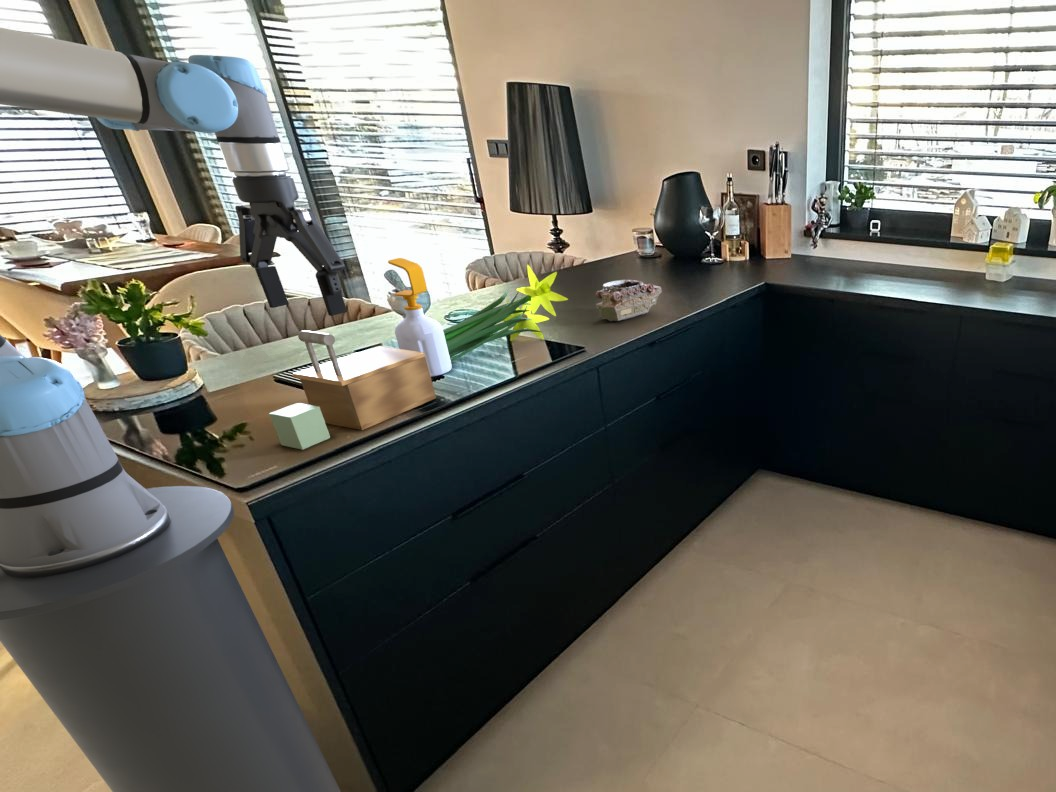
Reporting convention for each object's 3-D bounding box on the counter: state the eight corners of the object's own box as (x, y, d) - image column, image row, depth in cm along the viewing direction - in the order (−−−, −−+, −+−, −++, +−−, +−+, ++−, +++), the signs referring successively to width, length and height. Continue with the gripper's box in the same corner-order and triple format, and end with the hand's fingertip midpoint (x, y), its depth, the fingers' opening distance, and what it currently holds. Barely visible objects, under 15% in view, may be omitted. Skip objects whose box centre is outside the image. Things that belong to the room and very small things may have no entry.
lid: (342, 386, 108) (326, 339, 104) (293, 377, 111) (276, 332, 107) (425, 356, 123) (414, 314, 119) (380, 349, 126) (368, 308, 122)
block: (302, 449, 105) (290, 417, 103) (281, 445, 107) (268, 413, 104) (330, 437, 110) (319, 406, 107) (309, 433, 111) (298, 402, 108)
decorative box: (587, 316, 185) (582, 283, 180) (643, 304, 198) (640, 274, 194) (613, 325, 177) (609, 290, 173) (669, 312, 191) (666, 280, 186)
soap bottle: (424, 363, 145) (395, 254, 134) (460, 366, 144) (434, 256, 133) (397, 376, 137) (364, 262, 126) (435, 379, 136) (405, 264, 125)
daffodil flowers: (421, 354, 153) (543, 295, 172) (457, 394, 151) (578, 329, 169) (402, 308, 139) (538, 249, 157) (442, 351, 137) (576, 285, 155)
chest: (362, 430, 113) (347, 384, 109) (315, 421, 116) (298, 376, 112) (436, 398, 127) (425, 356, 123) (392, 390, 130) (380, 349, 126)
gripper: (344, 175, 96) (383, 311, 106) (231, 169, 103) (278, 298, 112) (295, 178, 90) (342, 322, 99) (178, 172, 96) (233, 307, 106)
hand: (308, 310), depth 106 cm, fingers open, 13 cm apart
